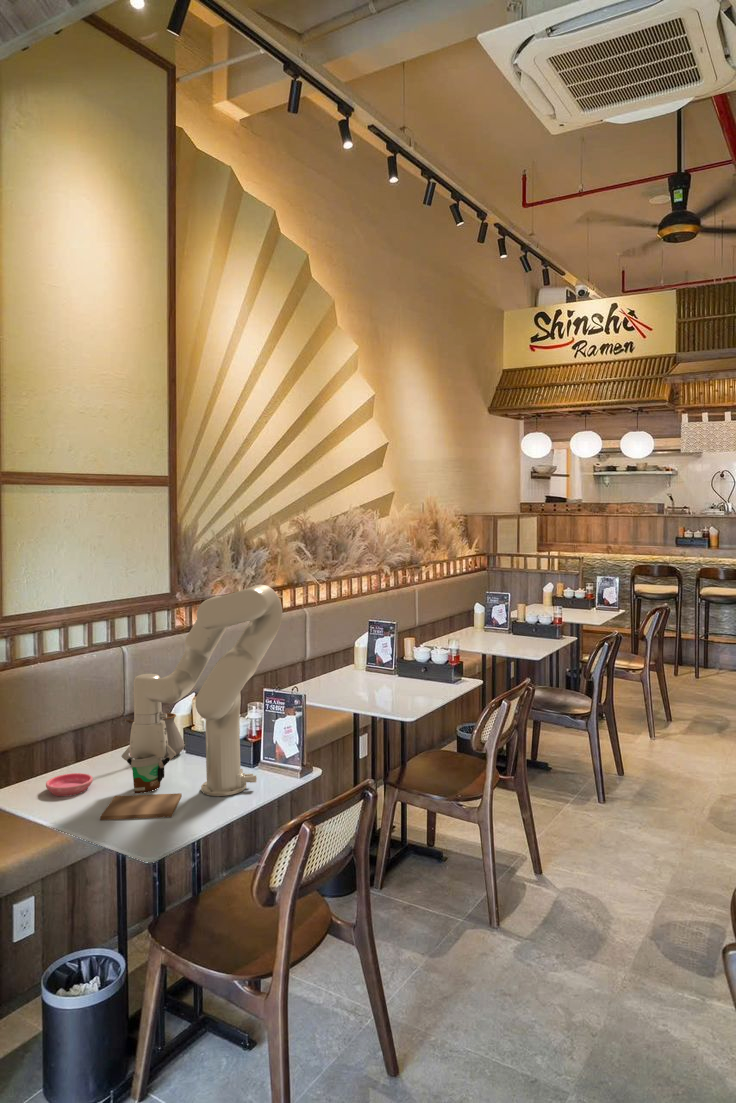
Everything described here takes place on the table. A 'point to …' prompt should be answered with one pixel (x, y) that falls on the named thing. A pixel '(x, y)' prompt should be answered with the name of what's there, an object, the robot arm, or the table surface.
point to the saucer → (69, 784)
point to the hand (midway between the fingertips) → (149, 780)
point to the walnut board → (141, 806)
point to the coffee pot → (170, 733)
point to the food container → (145, 774)
